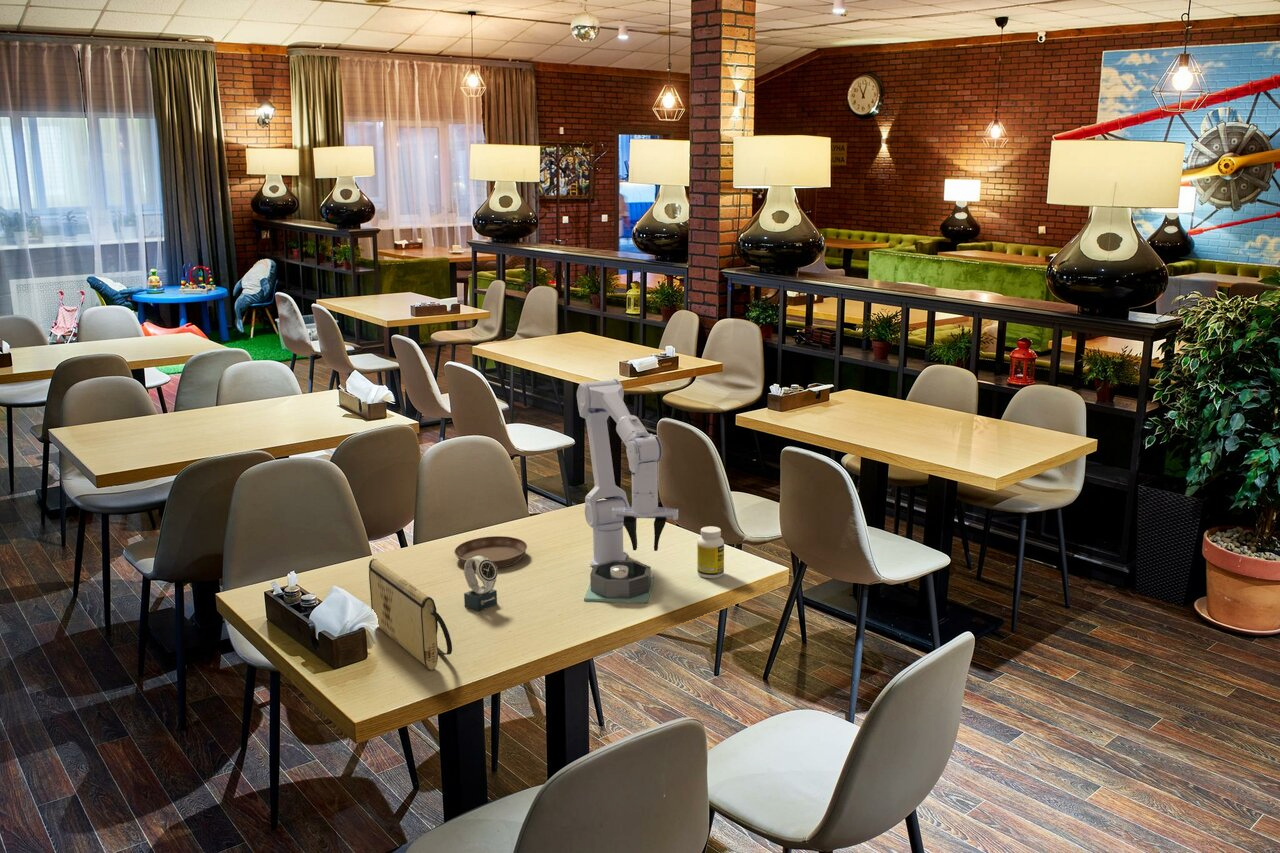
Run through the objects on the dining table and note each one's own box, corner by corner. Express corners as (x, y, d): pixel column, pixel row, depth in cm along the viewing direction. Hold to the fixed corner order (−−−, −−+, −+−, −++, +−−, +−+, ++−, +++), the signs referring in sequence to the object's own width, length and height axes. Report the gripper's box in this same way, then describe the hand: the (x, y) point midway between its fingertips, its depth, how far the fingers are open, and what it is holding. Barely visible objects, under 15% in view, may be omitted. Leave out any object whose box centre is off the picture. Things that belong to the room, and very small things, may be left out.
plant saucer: (471, 577, 248) (470, 565, 248) (444, 555, 263) (443, 544, 263) (539, 563, 257) (539, 551, 256) (510, 542, 272) (509, 531, 271)
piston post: (612, 583, 241) (611, 565, 240) (629, 584, 241) (629, 565, 240) (609, 590, 237) (609, 571, 236) (627, 590, 237) (627, 571, 236)
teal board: (593, 577, 247) (593, 575, 246) (653, 579, 245) (653, 576, 245) (584, 600, 233) (583, 598, 233) (647, 602, 232) (647, 600, 231)
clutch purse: (463, 666, 203) (458, 592, 199) (429, 676, 199) (424, 601, 196) (399, 616, 226) (394, 550, 223) (368, 625, 222) (363, 557, 219)
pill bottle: (722, 580, 244) (722, 534, 241) (695, 578, 245) (695, 532, 243) (725, 570, 250) (725, 525, 247) (699, 569, 251) (699, 524, 249)
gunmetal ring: (596, 576, 246) (596, 559, 245) (652, 577, 244) (652, 561, 244) (588, 597, 233) (587, 580, 232) (646, 599, 232) (646, 581, 231)
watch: (484, 613, 227) (481, 565, 224) (459, 604, 232) (456, 557, 230) (503, 605, 231) (501, 558, 229) (478, 597, 236) (476, 550, 234)
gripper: (609, 495, 230) (610, 554, 233) (676, 496, 228) (676, 556, 232) (613, 486, 237) (615, 543, 240) (678, 487, 235) (679, 545, 238)
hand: (645, 549), depth 236 cm, fingers open, 4 cm apart
